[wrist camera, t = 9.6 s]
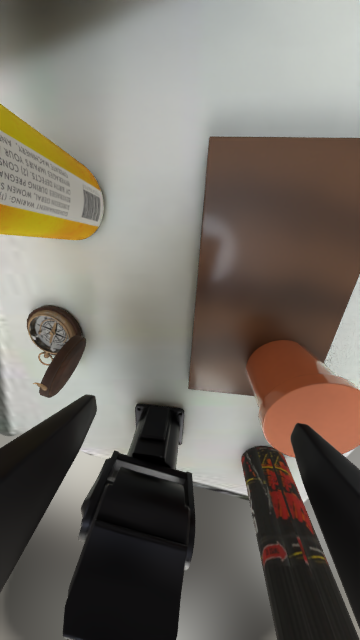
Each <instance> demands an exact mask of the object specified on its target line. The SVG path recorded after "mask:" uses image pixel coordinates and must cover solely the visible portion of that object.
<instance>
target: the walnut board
mask: <svg viewBox="0 0 360 640" xmlns="http://www.w3.org/2000/svg"><path fill="white" fill-rule="evenodd" d="M359 274H360V138H306V137H210V138H209V147H208V158H207V170H206V182H205V194H204V206H203V218H202V230H201V242H200V254H199V266H198V278H197V290H196V302H195V314H194V325H193V337H192V349H191V361H190V373H189V386H188V388H189V389H194V390H203V391H213V392H222V393H231V394H240V395H249V396H254V393H253V391H252V388H251V386H250V383H249V380H248V378H247V375H246V365H247V362H248V359H249V358H250V356H251V355H252V353H253V352H254V351H255V350H256V349H258V348H259V347H261V346H262V345H264V344H266V343H269V342H272V341H277V340H289V341H294V342H297V343H299V344H301V345H303V346H304V347H306V348H307V349H308V350H309V351H310V352H311V353H312V354H313V355H314V356H316V357H317V358H318V359H319V360H320V361H321V362H322V363H323V364H324V361H325V359H326V356H327V354H328V351H329V349H330V346H331V344H332V341H333V339H334V336H335V334H336V331H337V329H338V327H339V324H340V322H341V319H342V317H343V314H344V312H345V309H346V307H347V304H348V302H349V299H350V297H351V294H352V292H353V289H354V287H355V284H356V282H357V279H358V277H359Z"/></svg>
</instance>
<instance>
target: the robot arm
mask: <svg viewBox="0 0 360 640" xmlns="http://www.w3.org/2000/svg"><path fill="white" fill-rule="evenodd" d="M96 411H97V406H96V399H95V396H93V395H84V396H82V397H81V398H79V399H78V400H76V401H74V402H73V403H71V404H70V405H68V406H67V407H65V408H63V409H62V410H60V411H59V412H57V413H55V414H54V415H52V416H51V417H49V418H48V419H46V420H44V421H43V422H41V423H40V424H38V425H37V426H35V427H33V428H32V429H30V430H29V431H27V432H25V433H24V434H22V435H21V436H19V437H18V438H16V439H14V440H13V441H11V442H10V443H8V444H6V445H5V446H3V447H2V448H0V592H1V591H2V589H3V587H4V585H5V583H6V581H7V580H8V578H9V576H10V574H11V572H12V571H13V569H14V567H15V565H16V563H17V562H18V560H19V558H20V556H21V555H22V552H23V551H24V549H25V547H26V546H27V544H28V542H29V540H30V538H31V537H32V535H33V533H34V531H35V529H36V528H37V526H38V524H39V522H40V520H41V518H42V517H43V515H44V513H45V511H46V510H47V508H48V506H49V504H50V502H51V500H52V499H53V497H54V495H55V493H56V492H57V490H58V488H59V486H60V485H61V483H62V481H63V479H64V477H65V476H66V473H67V472H68V470H69V468H70V467H71V465H72V463H73V461H74V459H75V458H76V456H77V454H78V452H79V450H80V448H81V446H82V444H83V442H84V439H85V437H86V435H87V433H88V430H89V428H90V426H91V424H92V421H93V419H94V417H95V414H96ZM180 412H181V413H180ZM135 414H136V431H135V434H134V437H133V440H132V443H131V446H130V449H129V452H128V454H127V455H124V454H121V453H119V452H117V451H114V453H113V455H112V457H111V458H109V459H106V460H105V463H104V465H103V467H102V470H101V472H100V474H99V476H98V478H97V480H96V481H95V483H94V485H93V487H92V488H91V490H90V492H89V493H88V495H87V497H86V498H85V500H84V502H83V505H82V507H81V512H82V517H83V519H82V523H81V526H82V527H81V530H80V533H79V537H78V540H80V541H84V542H85V544H84V546H83V550H82V552H81V555H80V558H79V561H78V563H77V566H76V569H75V572H74V575H73V578H72V580H71V583H70V586H69V590H68V599H67V602H66V605H65V613H64V625H63V638H66V639H67V640H176V637H177V632H178V621H179V610H180V599H181V590H182V582H183V575H184V570H187V569H188V568H189V565H190V562H191V558H192V553H193V547H194V538H195V508H194V496H193V483H192V473H190V472H183V471H179V470H176V463H177V453H178V445H181V444H182V435H183V423H184V410H183V409H180V408H172V407H163V406H155V405H146V404H137V405H136V407H135ZM290 440H291V444H292V448H293V451H294V454H295V458H296V461H297V465H298V468H299V471H300V475H301V478H302V481H303V484H304V487H305V490H306V492H307V495H308V497H309V500H310V503H311V505H312V508H313V510H314V513H315V515H316V518H317V521H318V523H319V526H320V528H321V531H322V533H323V536H324V539H325V541H326V544H327V546H328V549H329V551H330V554H331V556H332V559H333V562H334V564H335V567H336V569H337V572H338V575H339V577H340V580H341V582H342V585H343V587H344V590H345V593H346V595H347V597H348V600H349V603H350V605H351V608H352V611H353V613H354V616H355V618H356V621H357V623H358V626H359V628H360V470H359V469H358V468H357V467H356V466H355V465H353V463H351V462H350V461H349V460H348V459H347V458H346V457H345V456H343V455H342V454H341V453H340V452H339V451H338V450H336V449H335V448H334V447H333V446H332V445H331V444H330V443H328V442H327V441H326V440H325V439H324V438H323V437H321V436H320V435H319V434H318V433H317V432H316V431H315V430H313V429H312V428H311V427H310V426H309V425H307V424H302V423H297V424H295V427H294V429H293V431H292V434H291V437H290Z"/></svg>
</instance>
